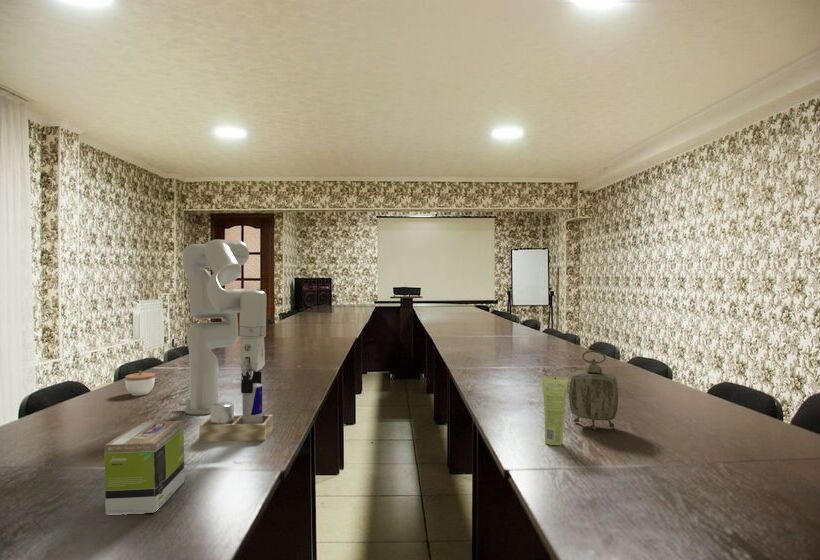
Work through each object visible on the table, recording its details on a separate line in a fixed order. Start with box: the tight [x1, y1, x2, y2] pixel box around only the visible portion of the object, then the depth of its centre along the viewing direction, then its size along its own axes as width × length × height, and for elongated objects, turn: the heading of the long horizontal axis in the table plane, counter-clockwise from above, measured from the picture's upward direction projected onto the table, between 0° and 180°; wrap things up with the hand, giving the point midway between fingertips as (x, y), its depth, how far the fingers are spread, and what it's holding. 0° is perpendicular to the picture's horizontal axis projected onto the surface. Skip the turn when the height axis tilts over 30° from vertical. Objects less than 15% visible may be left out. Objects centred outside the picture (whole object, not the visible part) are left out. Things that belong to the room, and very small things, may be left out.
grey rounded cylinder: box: [210, 401, 235, 425], centre depth 136 cm, size 6×6×9 cm
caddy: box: [198, 414, 274, 443], centre depth 137 cm, size 18×10×6 cm, turn 94°
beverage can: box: [242, 383, 263, 424], centre depth 137 cm, size 6×6×15 cm
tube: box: [541, 375, 569, 446], centre depth 134 cm, size 6×5×20 cm
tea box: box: [103, 420, 186, 515], centre depth 99 cm, size 15×10×15 cm, turn 5°
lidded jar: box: [124, 370, 156, 397], centre depth 190 cm, size 11×11×9 cm
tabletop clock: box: [568, 349, 619, 430], centre depth 148 cm, size 14×9×25 cm, turn 65°
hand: (251, 388), depth 138 cm, fingers open, 9 cm apart
